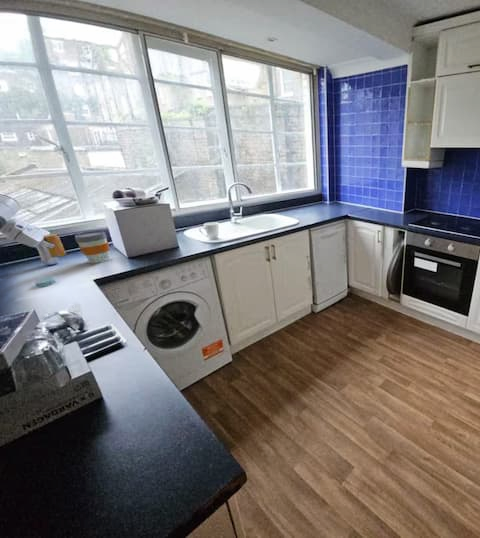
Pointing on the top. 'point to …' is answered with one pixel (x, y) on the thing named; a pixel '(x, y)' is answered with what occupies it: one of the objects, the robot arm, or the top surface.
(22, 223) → the robot arm
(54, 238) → the jar
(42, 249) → the plastic bottle
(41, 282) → the jar lid
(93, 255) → the reusable coffee cup
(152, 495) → the top surface
